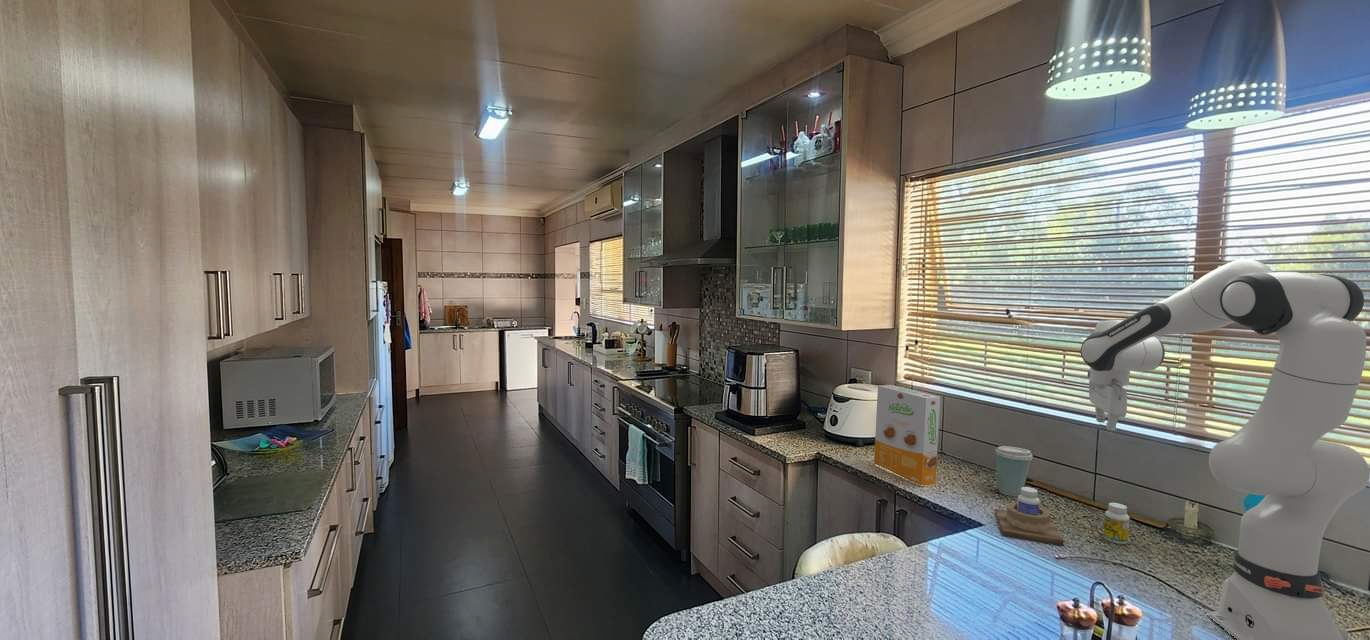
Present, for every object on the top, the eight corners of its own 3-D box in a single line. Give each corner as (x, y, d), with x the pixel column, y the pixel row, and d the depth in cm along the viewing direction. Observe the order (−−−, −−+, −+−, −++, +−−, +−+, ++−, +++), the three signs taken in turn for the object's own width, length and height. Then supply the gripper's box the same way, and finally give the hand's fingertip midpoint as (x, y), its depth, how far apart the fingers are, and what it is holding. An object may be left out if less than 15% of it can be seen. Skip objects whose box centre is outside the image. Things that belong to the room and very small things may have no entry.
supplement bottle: (1132, 543, 153) (1135, 508, 152) (1118, 545, 151) (1120, 510, 150) (1112, 534, 158) (1115, 500, 157) (1098, 536, 156) (1100, 502, 156)
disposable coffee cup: (985, 487, 192) (988, 443, 191) (1017, 487, 193) (1020, 443, 192) (1004, 499, 182) (1007, 453, 181) (1037, 499, 182) (1040, 453, 181)
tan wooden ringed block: (1063, 545, 150) (1064, 525, 150) (1002, 535, 156) (1004, 516, 155) (1049, 522, 165) (1051, 503, 165) (995, 513, 170) (996, 495, 170)
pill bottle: (1041, 528, 157) (1044, 493, 157) (1020, 526, 158) (1022, 492, 158) (1034, 520, 163) (1036, 486, 162) (1013, 518, 164) (1015, 485, 163)
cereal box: (935, 484, 194) (940, 397, 191) (921, 487, 191) (926, 398, 189) (887, 464, 214) (891, 384, 212) (874, 466, 212) (877, 385, 209)
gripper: (1136, 384, 149) (1132, 436, 150) (1111, 372, 168) (1107, 419, 169) (1107, 382, 151) (1103, 433, 152) (1085, 370, 170) (1082, 416, 171)
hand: (1105, 425), depth 160 cm, fingers open, 8 cm apart
